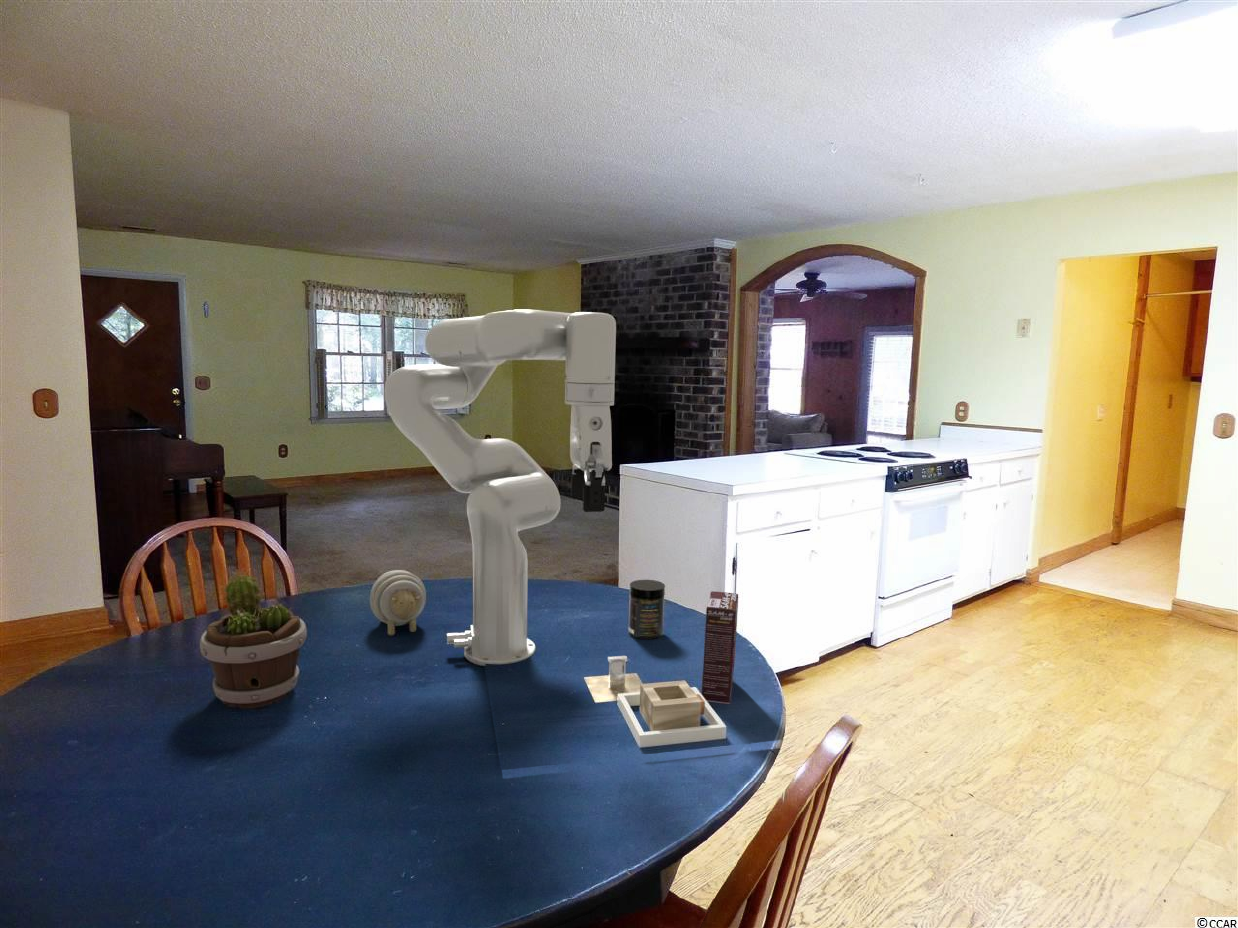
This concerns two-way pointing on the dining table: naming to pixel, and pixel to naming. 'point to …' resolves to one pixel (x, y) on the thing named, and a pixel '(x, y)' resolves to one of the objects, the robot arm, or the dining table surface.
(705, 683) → the supplement box
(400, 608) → the toy sheep
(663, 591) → the supplement container
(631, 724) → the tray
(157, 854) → the dining table surface
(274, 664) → the flowerpot
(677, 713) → the collar
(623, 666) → the square lid with knob
